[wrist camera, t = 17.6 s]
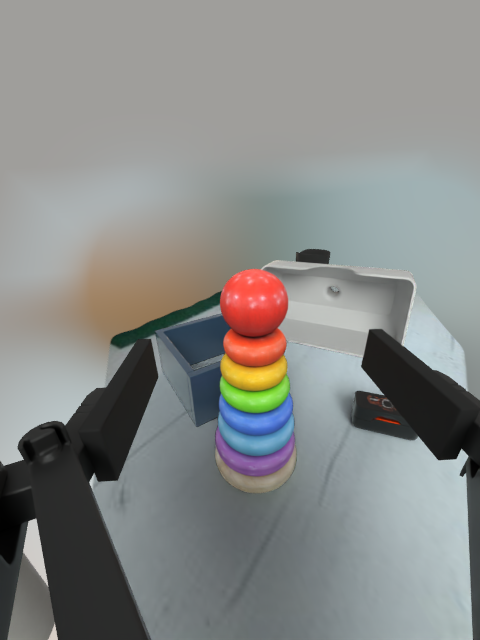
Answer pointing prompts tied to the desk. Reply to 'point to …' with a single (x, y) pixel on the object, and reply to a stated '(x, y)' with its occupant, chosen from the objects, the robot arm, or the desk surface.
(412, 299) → the light grey open box
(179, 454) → the desk surface
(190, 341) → the square holder
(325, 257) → the pen holder
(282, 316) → the stacking toy
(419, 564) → the desk surface
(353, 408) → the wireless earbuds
